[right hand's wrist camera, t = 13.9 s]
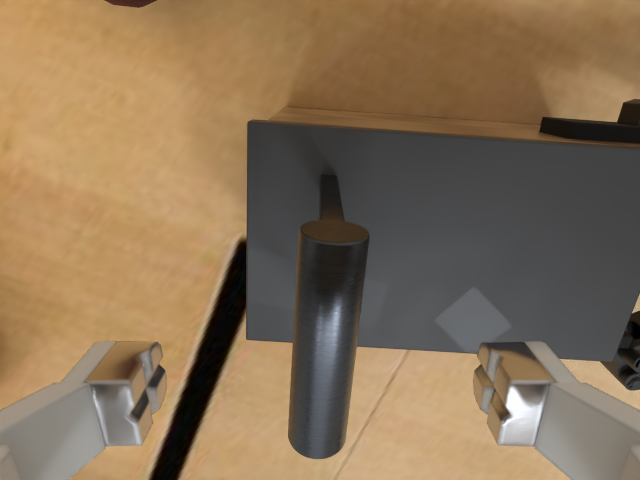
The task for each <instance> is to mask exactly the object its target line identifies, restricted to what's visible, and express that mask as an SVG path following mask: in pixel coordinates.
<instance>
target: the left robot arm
mask: <svg viewBox="0 0 640 480" xmlns="http://www.w3.org/2000/svg"><path fill="white" fill-rule="evenodd" d="M539 132H542V133H546V134H550V135H555V136H559V137H563V138H567V139H578V140H592V141H606V142H620V143H634V144H640V99H634V100H631V101H627V102H624V103H623V106H622V109H621V112H620V115H619V118H618V121H617V122H604V121H590V120H577V119H563V118H550V117H543V118H542V122H541V126H540V130H539ZM600 362H601V363H602V364H603V365H604V366H605V367H606V368H607V369H608V370H609V371H610V372H611V373H612V374H613V375H614V376H615V377H616V378H617V379H618V380H619V382H620V383H622V384H623V385H624V386H625V387H626V388H627V389H628V390H640V311H638V312H635V313H632V314H631V317H630V319H629V322H628V324H627V327H626V329H625V332H624V334H623V337H622V339H621V342H620V345H619V347H618V350H617V352H616V355H615V357H614V360H613V361H612V362H606V361H600Z"/></svg>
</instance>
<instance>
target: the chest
mask: <svg viewBox="0 0 640 480" xmlns="http://www.w3.org/2000/svg"><path fill="white" fill-rule="evenodd" d="M268 121H280V122H294V123H308V124H322V125H336V126H350V127H364V128H378V129H392V130H406V131H420V132H434V133H448V134H462V135H476V136H490V137H504V138H518V139H532V140H546V141H560V142H574V143H588V144H602V145H616V146H630V147H640V144H634V143H620V142H606V141H592V140H578V139H567V138H563V137H559V136H555V135H550V134H546V133H542V132H539V130H540V126H541V125H534V124H520V123H506V122H493V121H479V120H465V119H451V118H437V117H423V116H410V115H396V114H382V113H368V112H354V111H340V110H326V109H313V108H299V107H285V108H284V109H282V110H281V111H280V112H279V113H277V114H276V115H275V116H273V117H272V118H271V119H269V120H268Z"/></svg>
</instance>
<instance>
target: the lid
mask: <svg viewBox="0 0 640 480" xmlns="http://www.w3.org/2000/svg"><path fill="white" fill-rule="evenodd" d="M639 294H640V147H630V146H616V145H602V144H588V143H574V142H560V141H546V140H532V139H518V138H504V137H490V136H476V135H462V134H448V133H434V132H420V131H406V130H392V129H378V128H364V127H350V126H336V125H322V124H308V123H294V122H280V121H266V120H251V121H249V122H248V123H247V289H246V339H247V340H257V341H274V342H290V343H293V350H292V369H291V388H290V406H289V425H288V438H289V441H290V443H291V445H292V447H293V448H294V449H295V450H296V451H297V452H298V453H300V454H301V455H303V456H305V457H308V458H312V459H325V458H329V457H331V456H333V455H335V454H336V453H338V452H339V451H340V450H341V448H342V447H343V445H344V443H345V439H346V431H347V423H348V414H349V406H350V398H351V389H352V381H353V373H354V364H355V356H356V348H357V347H373V348H390V349H407V350H423V351H440V352H457V353H473V354H477V353H478V348H479V346H480V344H481V342H521V341H542V342H544V343H546V344H547V345H548V347H549V348H550V349H551V350H552V351H553V352H554V353H555V355H556V356H557V357H558V358H559V359H573V360H590V361H606V362H612V361H613V360H614V357H615V355H616V352H617V350H618V347H619V345H620V342H621V339H622V337H623V334H624V332H625V329H626V327H627V324H628V322H629V319H630V317H631V314H632V311H633V309H634V306H635V304H636V301H637V299H638V296H639Z"/></svg>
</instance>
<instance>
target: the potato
mask: <svg viewBox="0 0 640 480" xmlns="http://www.w3.org/2000/svg"><path fill="white" fill-rule="evenodd" d="M105 1H107V2H109V3H111V4H113V5H121V6H130V7H138V8H139V7H143V6H145V5H148V4H150V3H152V2H154V1H156V0H105Z"/></svg>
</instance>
